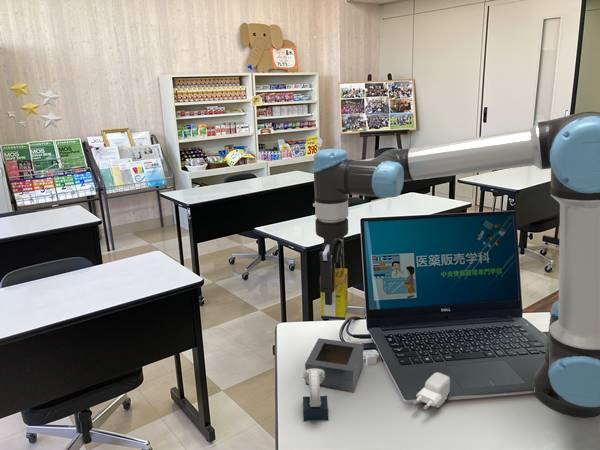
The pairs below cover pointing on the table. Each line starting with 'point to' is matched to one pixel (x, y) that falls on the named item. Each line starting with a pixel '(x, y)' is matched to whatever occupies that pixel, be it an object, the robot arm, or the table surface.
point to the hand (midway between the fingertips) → (333, 308)
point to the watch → (314, 397)
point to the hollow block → (337, 363)
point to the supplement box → (338, 295)
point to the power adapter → (434, 391)
